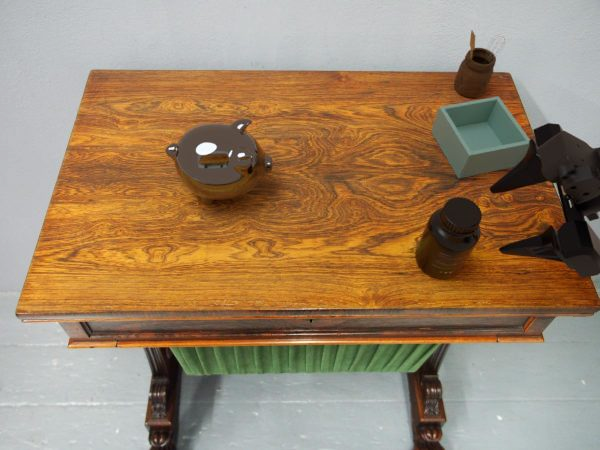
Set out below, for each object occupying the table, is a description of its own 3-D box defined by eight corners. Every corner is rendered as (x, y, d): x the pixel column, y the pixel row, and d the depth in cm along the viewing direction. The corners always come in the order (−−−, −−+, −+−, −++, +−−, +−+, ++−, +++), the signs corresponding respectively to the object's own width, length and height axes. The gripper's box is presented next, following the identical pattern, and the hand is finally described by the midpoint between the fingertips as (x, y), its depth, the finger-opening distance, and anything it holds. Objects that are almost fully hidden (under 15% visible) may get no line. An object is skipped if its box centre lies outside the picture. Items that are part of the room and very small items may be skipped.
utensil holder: (489, 97, 91) (515, 40, 81) (457, 100, 90) (479, 43, 80) (478, 76, 94) (502, 19, 84) (447, 78, 93) (467, 21, 83)
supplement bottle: (410, 239, 73) (431, 188, 63) (456, 239, 73) (484, 189, 63) (417, 280, 69) (440, 234, 59) (465, 280, 69) (496, 234, 59)
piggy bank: (274, 215, 75) (273, 164, 65) (173, 218, 74) (157, 167, 64) (272, 158, 81) (271, 105, 71) (178, 161, 80) (165, 107, 70)
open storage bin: (487, 120, 87) (498, 96, 83) (518, 166, 82) (532, 142, 77) (430, 131, 86) (439, 106, 81) (458, 178, 80) (469, 155, 75)
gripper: (591, 65, 53) (457, 129, 63) (641, 205, 43) (472, 256, 52) (622, 125, 60) (496, 175, 69) (673, 259, 49) (517, 296, 59)
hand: (495, 219), depth 62 cm, fingers open, 9 cm apart
